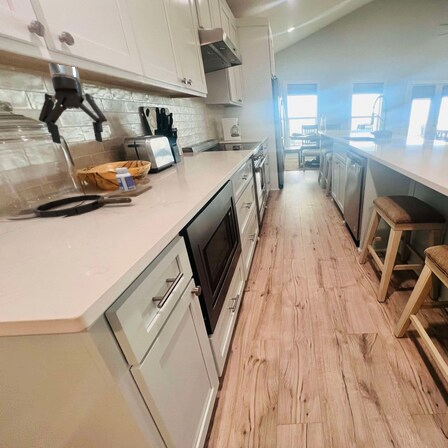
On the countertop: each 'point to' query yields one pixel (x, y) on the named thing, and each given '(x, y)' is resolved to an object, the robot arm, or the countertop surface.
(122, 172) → the pill bottle
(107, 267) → the countertop surface
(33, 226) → the countertop surface
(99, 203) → the pan
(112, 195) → the trivet
